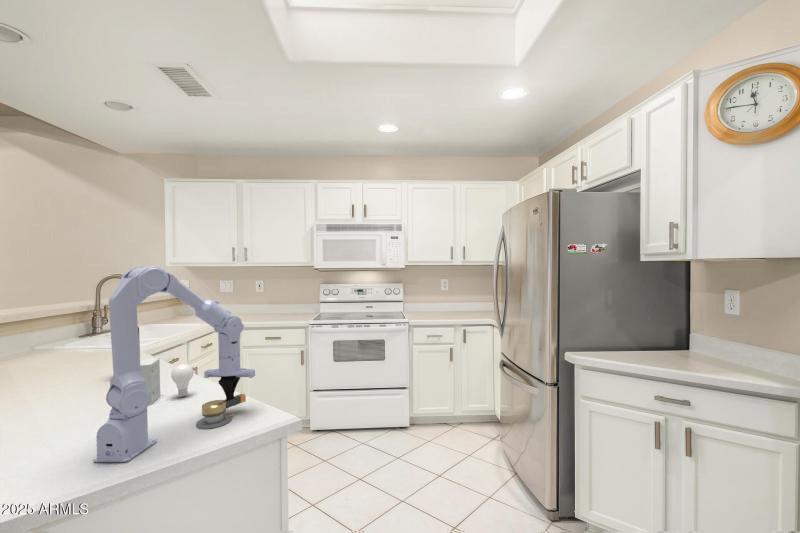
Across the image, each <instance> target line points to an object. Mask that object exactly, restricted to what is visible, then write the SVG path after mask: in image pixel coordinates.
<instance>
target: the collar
mask: <svg viewBox="0 0 800 533" xmlns="http://www.w3.org/2000/svg"><path fill="white" fill-rule="evenodd" d="M246 396H247V395H246V394H244V393H239V394H236V395H234V397H231V398H228V399H226V398H225V399H215V400H214V399H213V400H210V401H207V402H205V403H203V404H202V405H201V415H202V418H204V417H214V416H218V415H221V414H226V412H227V409H229V408H232V407H234V406H237V405H240V404H243V403H245V402H247V401H246V400H247V399H246Z"/></svg>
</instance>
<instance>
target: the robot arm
mask: <svg viewBox="0 0 800 533" xmlns="http://www.w3.org/2000/svg"><path fill="white" fill-rule="evenodd" d="M157 293H166V294H170V295H171V296H173V297H175V298H177V299H178V300H179V301H181V302H183V303H184V304H186V305H188V306H189V307H191V308H192V309H193V310H194V313H195V316H196V317H197V318H199V319H200V320H201V321H203V322H205V323H206V324H208V325H209V326H210V327H212V328H213V329H214V331H215V332H216V333H218V341H217V342H218V343H217V344H218V368H216V369H215V368H213V369H206V370H204V372H203V373H204V374H203V376H204V377H203V378H204V379H209V378H220V379H219V380H218V385H220V387H221V389H222V390H223V393H224V394H225V399H228V398H231V397H234V396H235V390H236V388H237V385H238V383H239V382H240V379H241V378H249V379H251V378H252V379H253V378H255V376H256V369H251V368H243V367H241V333H242V332H243V330H244V326H245V324H243V322H242V319H241V318H240V317H239V316H235V315H232V314H231V313H232V312H231V311H230V310H228V309H227V310H226V309H225V308H224V307H222V306H221V305H219V304H220V302H219V301H218V300H215V299H213V300H212V299H203V298H202V297H201V296H200V295H198V294H197V293H196V292H194V291H193V290H192V289H191V288H190V287H188V286H187V284H185V283H183V282H182V281H180V280H179V279H178V278H177V277H176V276H175V275H174V274H172V273H170V272H167V271H166V270H165V269H164V268H162V267H160V266H155V265H154V266H147V267H145V266H137V267H134V268H132V269H130V270H129V271H127V272H126V273H124V274H122V276H121V278H120V281H119V282H118V285H117V286H116V288H115V289H114V291H113V292H112V293H111V295H110V297H109V299H108V310H109V311H108V312H109V313H108V314H109V328H110V343H111V355H112V356H111V358H112V370H113V372H112V373H113V374H112V376H111V378H110V379H109V388H108V390H107V392H106V396H105V401H106V403H107V404H108V406H109V407H111V409H110V411H109V413H108V419H107V421H106V422H105V423H104V424H102V425H101V426H100V427H99V428H98V430H97V432H96V457H95V458H94V459H93V463H127V462H129V461H130V460H132V459H134V458H135V457H136V456H138V455H139V454H141V453H142V452H144V451H145V450H146V449H149V447H151V446H153V445H154V444H155V443H157V442H158V439H154V438H152V439H151V438H150V439H149V433H148V432H149V431H148V430H149V429H148V427H149V425H148V424H149V422H148V419H149V418H148V407H149V406H150V405H149V404H150V401H151V394H150V392H149V391H148V390H147V388H146V385H145V380H144V377H143V375H142V373H141V368H140V360H141V351H140V352H139V341H140V336H139V337H138V327H139V326H138V310H137V308H138V306H139V305H140V304H142V303H143V302H144V301H145V300H146V299H147V298H149V297H151V296H152V295H155V294H157Z"/></svg>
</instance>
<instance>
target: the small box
mask: <svg viewBox="0 0 800 533" xmlns="http://www.w3.org/2000/svg"><path fill="white" fill-rule="evenodd" d="M160 367H161V366H160V358H147V359H140V368H141V373H142V375H143V377H144V380H145V385H146V388H147V390H148V391H149V392H150V394H151V401H150V404H149V405H148V406H150V405H151V406H152V405H153V404H154V403H155V402H156V401H157V399H159V398H160V397H161V372H160V371H161V369H160Z"/></svg>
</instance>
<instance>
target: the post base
mask: <svg viewBox="0 0 800 533" xmlns="http://www.w3.org/2000/svg"><path fill="white" fill-rule="evenodd" d="M233 416H235V414H234V413H233V414H229V413H223V414H221V415H218V416H214V417H202V418H200V419H199V420H198V421H197V422H195V427H196V428H197V429H199V430H212V429H216V428H220V427H223V426H226V425H227V424H230V423H231V422H232V420H233Z"/></svg>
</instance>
